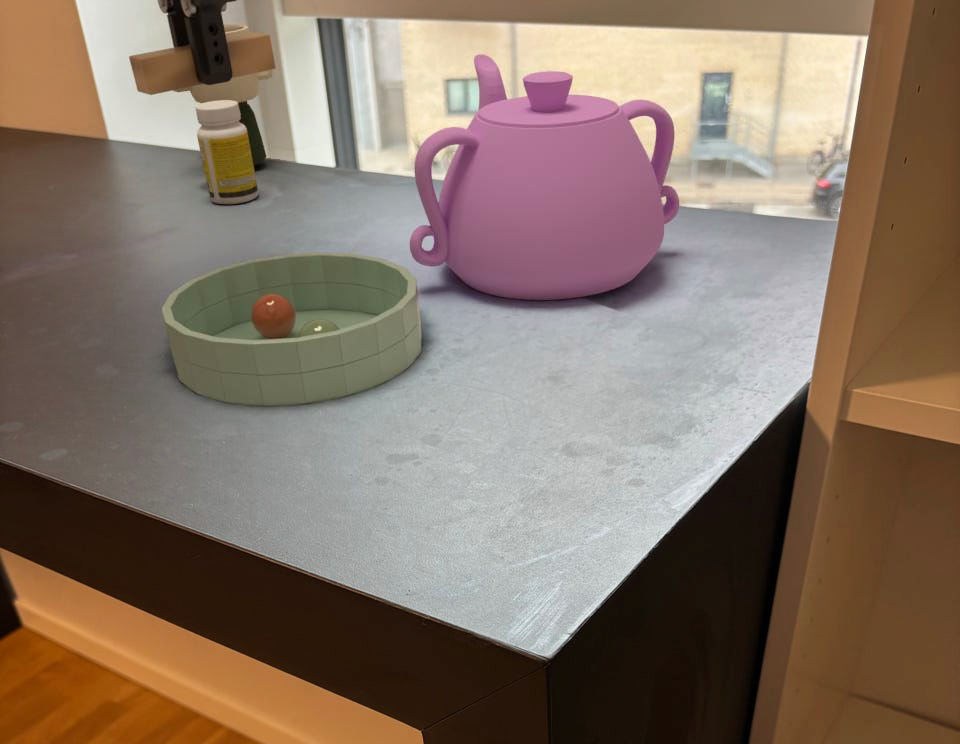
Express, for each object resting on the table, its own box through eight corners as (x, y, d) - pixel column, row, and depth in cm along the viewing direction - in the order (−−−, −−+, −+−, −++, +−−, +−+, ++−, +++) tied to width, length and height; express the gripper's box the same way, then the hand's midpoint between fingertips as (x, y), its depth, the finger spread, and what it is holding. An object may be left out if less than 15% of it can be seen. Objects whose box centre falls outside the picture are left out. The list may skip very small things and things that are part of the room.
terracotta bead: (268, 350, 68) (260, 306, 66) (247, 338, 70) (239, 294, 68) (307, 338, 69) (300, 294, 67) (286, 326, 71) (278, 283, 69)
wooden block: (150, 95, 63) (141, 58, 62) (137, 91, 64) (128, 56, 63) (276, 68, 67) (270, 34, 66) (261, 66, 68) (255, 31, 67)
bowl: (248, 440, 59) (233, 367, 56) (140, 358, 69) (122, 293, 67) (470, 361, 66) (466, 293, 64) (342, 298, 77) (334, 237, 74)
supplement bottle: (268, 194, 101) (252, 100, 95) (235, 207, 98) (217, 111, 92) (234, 189, 103) (216, 97, 98) (200, 202, 100) (180, 107, 95)
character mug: (274, 153, 114) (253, 19, 106) (297, 165, 110) (276, 26, 101) (180, 169, 111) (150, 32, 103) (200, 183, 106) (170, 39, 98)
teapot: (596, 210, 91) (599, 33, 83) (732, 283, 75) (755, 72, 67) (363, 252, 85) (341, 65, 77) (458, 340, 69) (443, 117, 61)
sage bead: (316, 379, 64) (309, 333, 62) (292, 365, 66) (285, 320, 64) (356, 366, 65) (350, 320, 63) (332, 352, 67) (326, 308, 65)
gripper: (24, -264, 58) (111, 79, 68) (119, -296, 49) (201, 103, 60) (147, -265, 61) (212, 61, 72) (257, -296, 52) (311, 82, 63)
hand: (207, 79), depth 66 cm, fingers closed on wooden block, 2 cm apart
